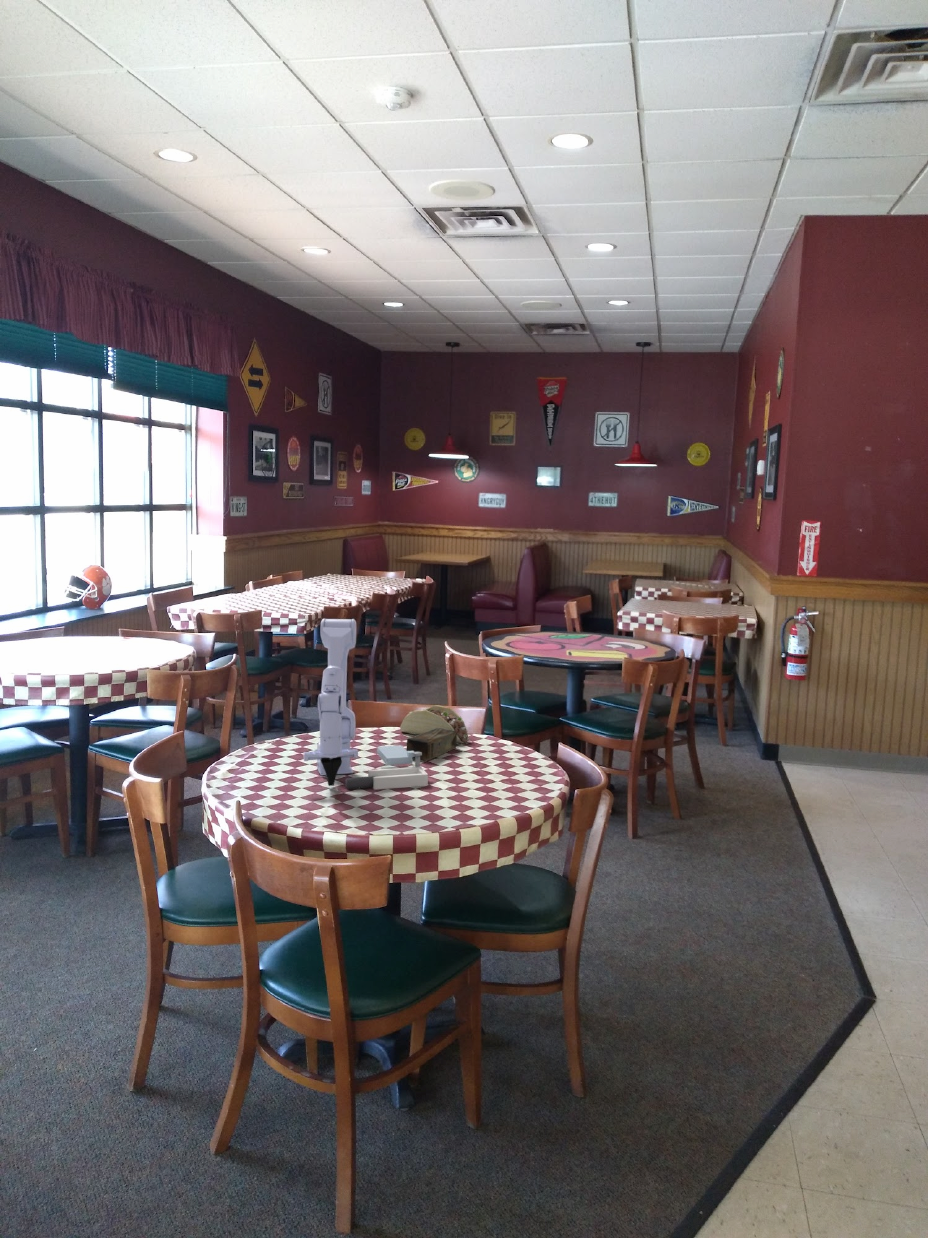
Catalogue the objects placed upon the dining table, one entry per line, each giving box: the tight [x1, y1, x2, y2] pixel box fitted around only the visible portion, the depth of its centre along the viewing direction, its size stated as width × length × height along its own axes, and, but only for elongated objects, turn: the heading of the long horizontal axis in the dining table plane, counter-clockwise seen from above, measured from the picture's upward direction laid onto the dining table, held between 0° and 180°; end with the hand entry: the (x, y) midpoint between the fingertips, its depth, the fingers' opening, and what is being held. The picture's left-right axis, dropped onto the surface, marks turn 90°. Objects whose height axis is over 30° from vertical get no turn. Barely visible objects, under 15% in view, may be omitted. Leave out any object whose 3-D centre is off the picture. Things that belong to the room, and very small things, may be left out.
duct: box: [367, 756, 429, 790], centre depth 254 cm, size 15×10×6 cm, turn 107°
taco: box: [399, 704, 471, 744], centre depth 306 cm, size 10×27×10 cm, turn 56°
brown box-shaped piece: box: [406, 727, 458, 762], centre depth 286 cm, size 8×19×7 cm, turn 152°
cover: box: [376, 744, 422, 766], centre depth 265 cm, size 15×10×3 cm, turn 17°
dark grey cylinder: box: [345, 776, 376, 790], centre depth 250 cm, size 8×3×3 cm
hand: (330, 784), depth 248 cm, fingers closed
